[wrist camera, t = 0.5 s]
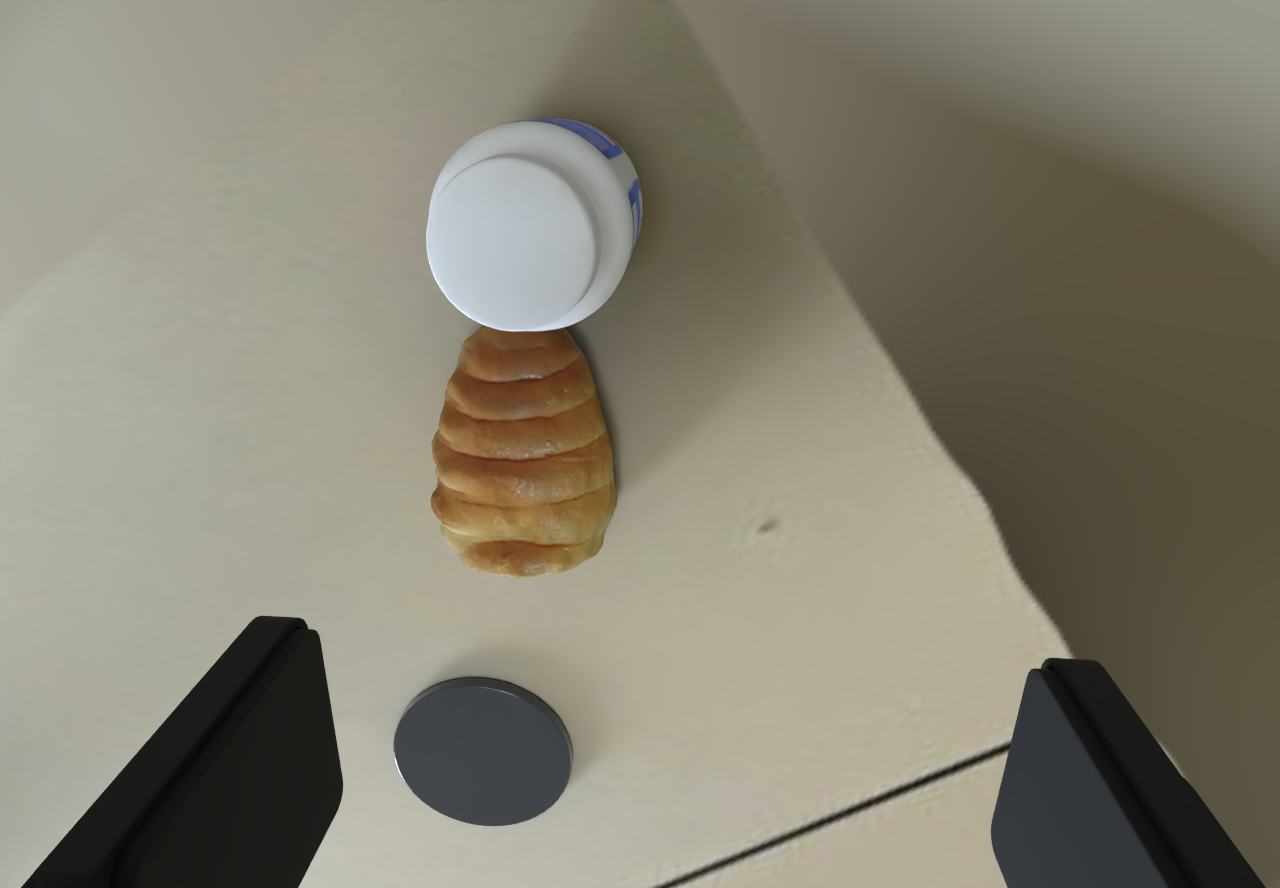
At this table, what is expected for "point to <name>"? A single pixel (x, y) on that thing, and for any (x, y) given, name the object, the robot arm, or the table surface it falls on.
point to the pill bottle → (534, 224)
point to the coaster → (483, 752)
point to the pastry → (523, 455)
